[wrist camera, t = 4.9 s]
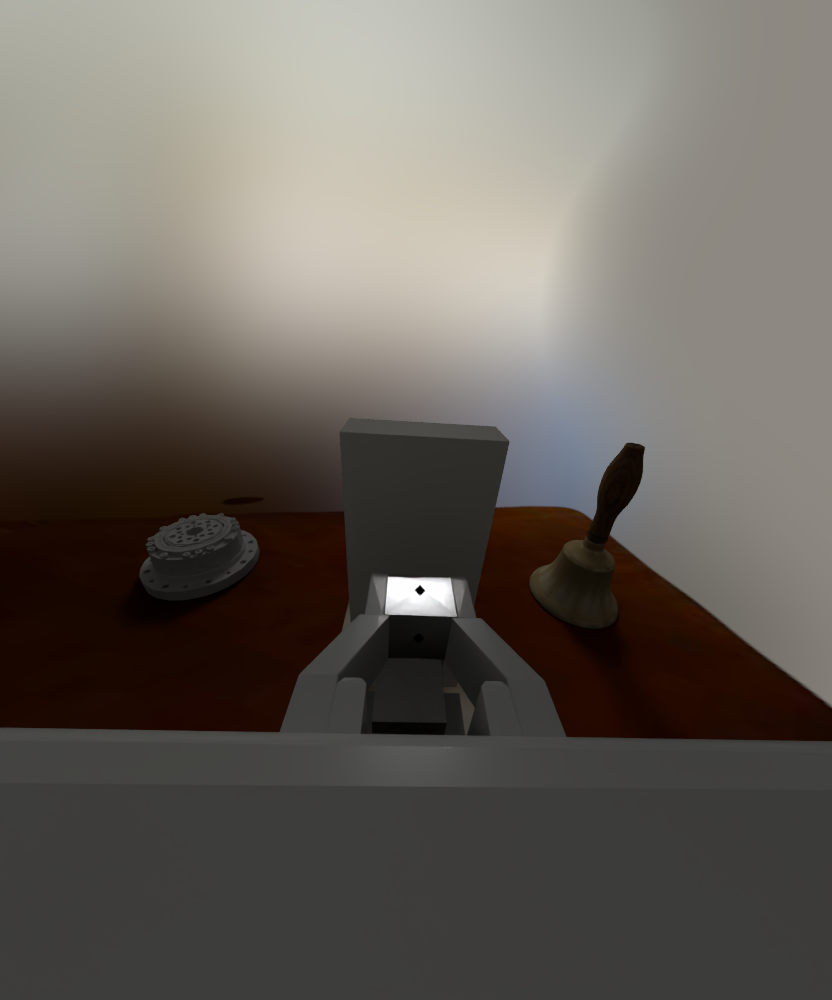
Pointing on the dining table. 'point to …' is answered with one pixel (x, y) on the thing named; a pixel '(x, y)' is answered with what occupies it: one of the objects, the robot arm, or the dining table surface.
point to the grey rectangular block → (418, 502)
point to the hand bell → (591, 553)
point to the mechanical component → (197, 557)
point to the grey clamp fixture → (413, 700)
